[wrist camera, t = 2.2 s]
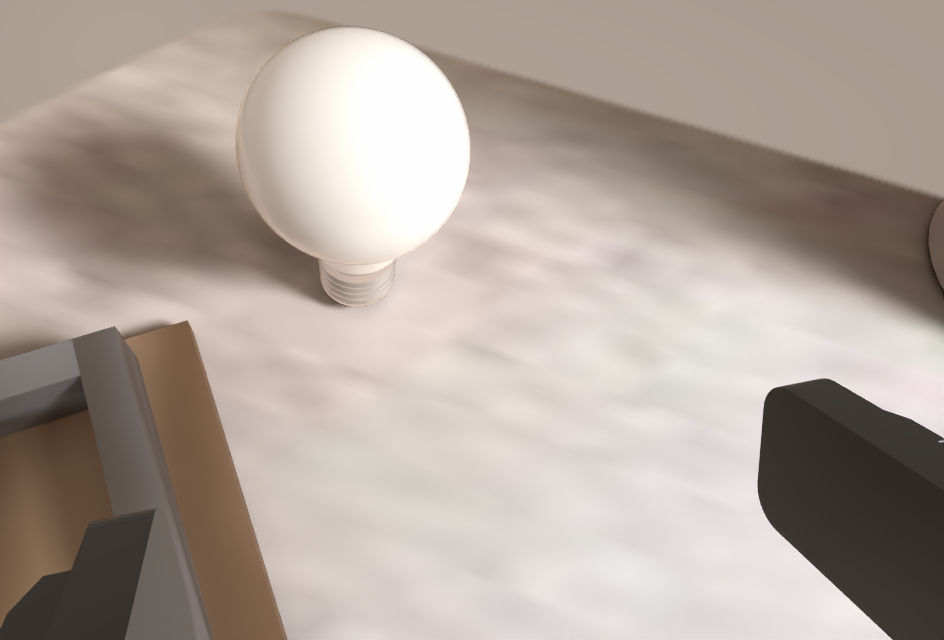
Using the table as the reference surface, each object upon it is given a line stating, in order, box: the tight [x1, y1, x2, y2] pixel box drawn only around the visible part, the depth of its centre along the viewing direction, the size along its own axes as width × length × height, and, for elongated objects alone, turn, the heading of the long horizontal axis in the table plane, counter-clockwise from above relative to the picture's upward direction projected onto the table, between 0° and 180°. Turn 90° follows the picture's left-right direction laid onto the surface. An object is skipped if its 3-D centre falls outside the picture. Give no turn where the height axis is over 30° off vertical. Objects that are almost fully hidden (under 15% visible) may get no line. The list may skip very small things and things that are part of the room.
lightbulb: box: [235, 26, 470, 307], centre depth 23 cm, size 6×6×11 cm
